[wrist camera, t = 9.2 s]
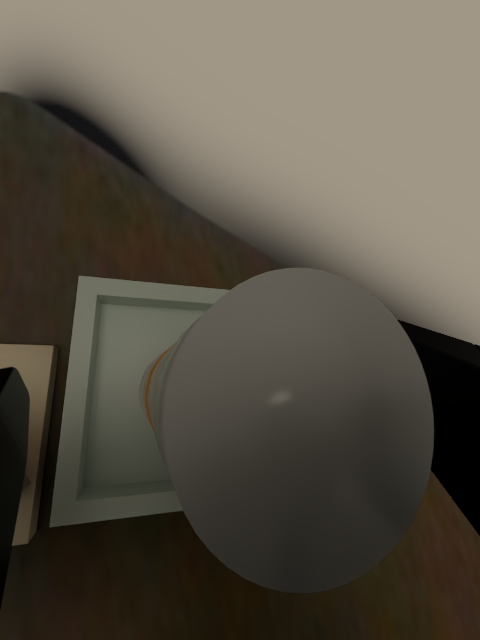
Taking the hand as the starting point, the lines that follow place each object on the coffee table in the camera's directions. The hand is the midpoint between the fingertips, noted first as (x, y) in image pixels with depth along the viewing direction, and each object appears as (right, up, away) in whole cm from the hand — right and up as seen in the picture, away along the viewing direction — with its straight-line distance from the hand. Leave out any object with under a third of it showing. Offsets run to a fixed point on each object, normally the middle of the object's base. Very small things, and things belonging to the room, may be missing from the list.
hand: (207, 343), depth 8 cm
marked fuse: (-2, -3, +7) cm, 8 cm away
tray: (-2, -3, +8) cm, 8 cm away
